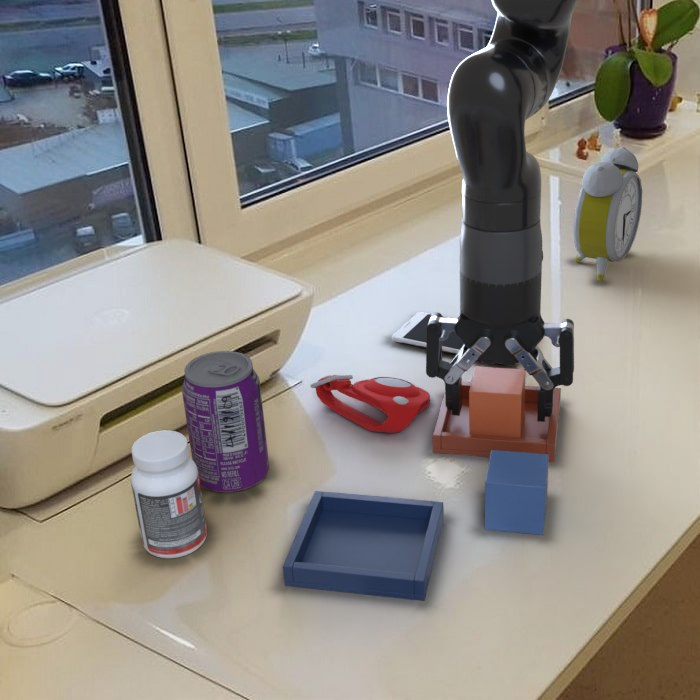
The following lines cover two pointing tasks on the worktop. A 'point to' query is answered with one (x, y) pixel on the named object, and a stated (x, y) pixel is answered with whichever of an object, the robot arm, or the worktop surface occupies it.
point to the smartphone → (425, 334)
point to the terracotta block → (497, 401)
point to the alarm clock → (608, 209)
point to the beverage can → (225, 421)
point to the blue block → (516, 492)
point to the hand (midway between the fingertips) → (499, 414)
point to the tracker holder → (375, 400)
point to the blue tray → (366, 545)
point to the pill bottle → (167, 495)
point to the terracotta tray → (534, 436)
